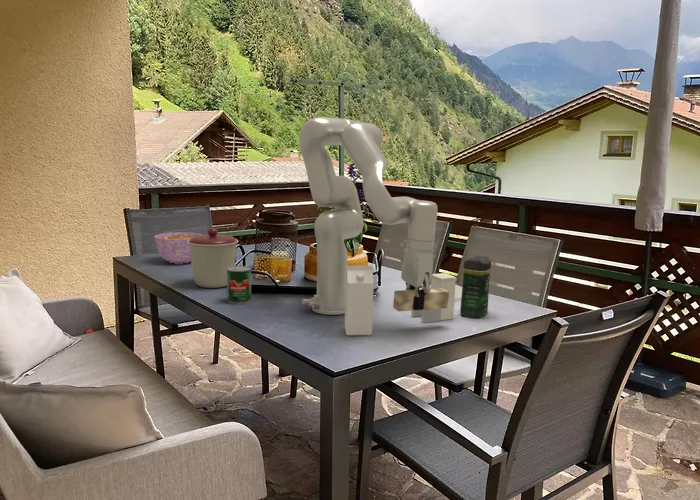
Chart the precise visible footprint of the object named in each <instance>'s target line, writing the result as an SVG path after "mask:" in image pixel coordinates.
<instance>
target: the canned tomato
mask: <svg viewBox="0 0 700 500" xmlns="http://www.w3.org/2000/svg"><path fill="white" fill-rule="evenodd" d="M226 287H227V288H226V290H227V291H226V293H227V295H226V297H227V299H226V301H227V302H228V303H229V302H230V304H234V303H243V304H247V303H250V302H252V268H251V267H250V266H245V265H234V266H232V267H228V268H227V286H226Z"/></svg>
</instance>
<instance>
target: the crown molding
mask: <svg viewBox="0 0 700 500" xmlns="http://www.w3.org/2000/svg"><path fill="white" fill-rule="evenodd" d="M461 297H462V287H461V286H460V285H459V284H457V283H455V300H454V303H457V302H461Z"/></svg>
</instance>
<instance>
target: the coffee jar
mask: <svg viewBox="0 0 700 500" xmlns="http://www.w3.org/2000/svg"><path fill="white" fill-rule="evenodd" d="M491 267H492V260H491V259H490V258H489V257H488V256H485V255H484V256H483V255H474V256H472V257H469V258H467V259H465V260H464V261H463V266H462V268H463V270H462V297H461V301H460V310H459V311H460V314H461V315H462V316H466V317H467V318H482V317H484V316H486V315H487V314H488V312H489V311H488V309H489V295H490V294H489V293H490V292H489V290H490V279H491V269H492V268H491Z"/></svg>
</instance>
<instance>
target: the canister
mask: <svg viewBox="0 0 700 500" xmlns="http://www.w3.org/2000/svg"><path fill="white" fill-rule="evenodd" d="M207 229H208V230H207V234H202V235H198V236H194V237H192V238H191V239H190V240H188V241H187V243H188V244H189V249H190V256H191V261H190V263H191V271H192V275H193V281H194V283H195V284H196V285H197V286H198V287H201V288H205V289H217V288H224V287H227V268H228V267H232V266H236V265H235V261H236V253H237V244H238V243H239V240H238V239H237V238H235V237H234V236H232V235H229V234H228V235H227V234H222V233H221V234H219V233H218V229H217V228H215V227H210V228H207Z"/></svg>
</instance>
